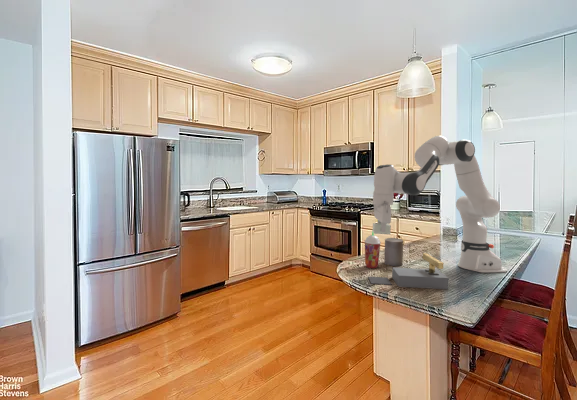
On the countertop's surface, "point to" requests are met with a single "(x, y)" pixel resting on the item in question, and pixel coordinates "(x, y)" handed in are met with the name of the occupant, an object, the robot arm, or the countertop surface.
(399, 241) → the pillar candle
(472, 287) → the countertop surface
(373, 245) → the smoothie
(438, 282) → the housing
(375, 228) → the cover
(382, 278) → the mat
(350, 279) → the countertop surface
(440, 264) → the key
